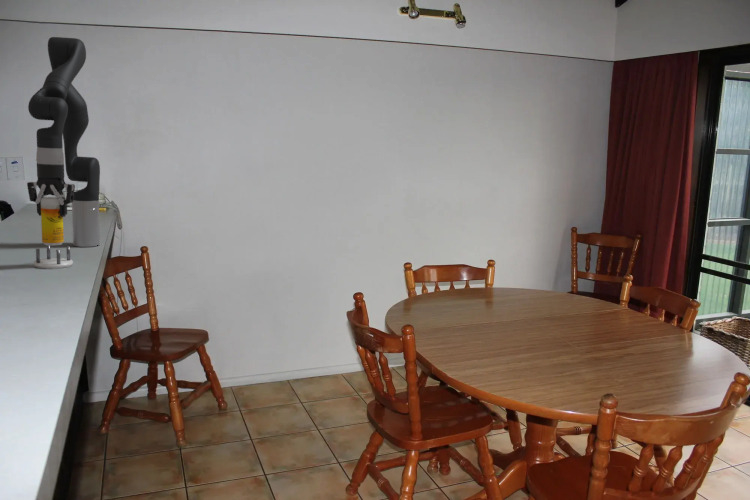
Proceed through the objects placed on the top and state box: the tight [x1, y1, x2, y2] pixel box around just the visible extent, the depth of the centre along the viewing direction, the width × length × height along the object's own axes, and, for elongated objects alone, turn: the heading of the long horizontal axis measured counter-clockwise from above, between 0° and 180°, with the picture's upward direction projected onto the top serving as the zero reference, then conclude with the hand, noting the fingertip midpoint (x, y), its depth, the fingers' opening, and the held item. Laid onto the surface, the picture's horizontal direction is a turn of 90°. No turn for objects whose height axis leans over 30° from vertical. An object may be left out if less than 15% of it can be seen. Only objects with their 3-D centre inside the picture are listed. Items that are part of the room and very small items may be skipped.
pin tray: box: [33, 245, 74, 270], centre depth 191 cm, size 11×11×6 cm
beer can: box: [40, 195, 65, 247], centre depth 189 cm, size 6×6×15 cm
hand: (52, 215), depth 189 cm, fingers closed on beer can, 6 cm apart
